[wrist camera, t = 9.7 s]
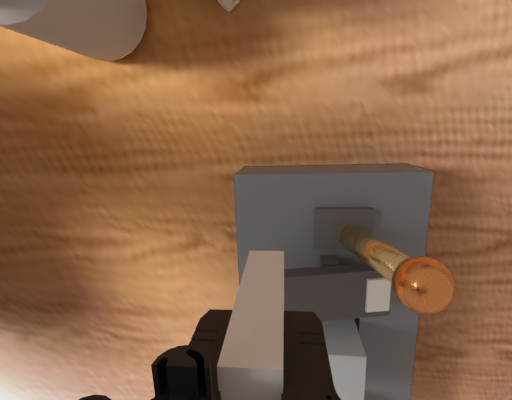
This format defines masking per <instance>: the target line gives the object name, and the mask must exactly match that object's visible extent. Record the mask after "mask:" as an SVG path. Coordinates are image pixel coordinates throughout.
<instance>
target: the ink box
mask: <svg viewBox="0 0 512 400" xmlns="http://www.w3.org/2000/svg"><path fill="white" fill-rule="evenodd" d="M217 1H218V2H219V4H220V5H221V6H222V7H223V8H224V9H225V10H226V11H227V12H230V11H231V10H232V9H233V8H234V7H235V6H236V5H237V4H238V3H239V2H240V1H241V0H217Z"/></svg>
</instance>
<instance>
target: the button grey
mask: <svg viewBox="0 0 512 400" xmlns="http://www.w3.org/2000/svg"><path fill="white" fill-rule="evenodd" d="M322 326H323V331H324V336H325V341H326V347H327V352H328V357H329V362H330V368H331V373H332V378H333V384H334V387H335V390H336V393H337V394H338V396H339V397H340V399H341V400H364V391H365V375H366V359H367V357H366V354H365V350H364V347H363V344H362V341H361V338H360V335H359V332H358V329H357V326H356V323H355V320H354V318H353V319H341V320H330V321H322Z"/></svg>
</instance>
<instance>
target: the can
mask: <svg viewBox="0 0 512 400" xmlns="http://www.w3.org/2000/svg"><path fill="white" fill-rule="evenodd" d="M146 21H147V7H146V2H145V0H0V26H1V27H4V28H7V29H10V30H12V31H15V32H18V33H21V34H24V35H27V36H30V37H33V38H35V39H38V40H41V41H44V42H47V43H50V44H53V45H56V46H58V47H61V48H64V49H67V50H70V51H73V52H76V53H79V54H82V55H84V56H87V57H90V58H93V59H97V60H102V61H114V60H119V59H122V58H123V57H125V56H127V55H128V54H130V53H131V52H133V50H134V49H135V48H136V47H137V45H138V44H139V43H140V42H141V39H142V37H143V34H144V31H145V28H146Z"/></svg>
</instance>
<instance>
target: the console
mask: <svg viewBox="0 0 512 400" xmlns="http://www.w3.org/2000/svg"><path fill="white" fill-rule="evenodd" d="M433 178H434V172H433V171H429V170H426V169H423V168H420V167H417V166H413V165H410V164H354V165H299V166H244V167H243V168H242V169H240V170H239V171H238V172H237V173H236V174H234V189H235V209H236V229H237V249H238V269H239V286H240V283H241V279H242V276H243V272H244V269H245V265H246V262H247V258H248V255H249V251H284V269H293V268H307V267H320V266H334V265H348V264H362V263H365V262H364V261H362V260H361V259H360V258H358V257H357V256H356V255H354V254H353V253H352V252H350V251H349V250H348V249H346V248H345V247H344V246H342V245H341V244H340V243H339V241H338V239H337V231H338V229H339V228H340V227H341V226H342V225H345V224H353V225H355V226H357V227H358V228H360V229H362V230H364V231H365V232H367V233H369V234H371V235H372V236H374V237H376V238H377V239H379V240H381V241H383V242H384V243H386V244H388V245H390V246H391V247H393V248H395V249H397V250H398V251H400V252H402V253H403V254H405V255H407V256H409V257H413V256H425V254H426V244H427V235H428V225H429V216H430V206H431V197H432V187H433ZM354 320H355V323H356V326H357V329H358V332H359V335H360V338H361V341H362V344H363V347H364V350H365V354H366V357H367V359H366V375H365V391H364V400H410V396H411V387H412V377H413V368H414V358H415V349H416V339H417V330H418V320H419V313H417V312H415V311H412V310H410V309H408V308H407V307H405V306H404V305H403V304H402V303H401V302H400V301H399V300H398V298H397V297H396V295H395V293H394V291H393V288H391V301H390V313H389V315H387V316H375V317H364V318H354Z"/></svg>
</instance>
